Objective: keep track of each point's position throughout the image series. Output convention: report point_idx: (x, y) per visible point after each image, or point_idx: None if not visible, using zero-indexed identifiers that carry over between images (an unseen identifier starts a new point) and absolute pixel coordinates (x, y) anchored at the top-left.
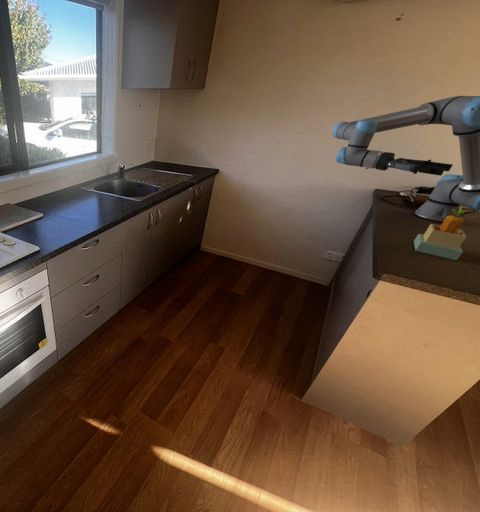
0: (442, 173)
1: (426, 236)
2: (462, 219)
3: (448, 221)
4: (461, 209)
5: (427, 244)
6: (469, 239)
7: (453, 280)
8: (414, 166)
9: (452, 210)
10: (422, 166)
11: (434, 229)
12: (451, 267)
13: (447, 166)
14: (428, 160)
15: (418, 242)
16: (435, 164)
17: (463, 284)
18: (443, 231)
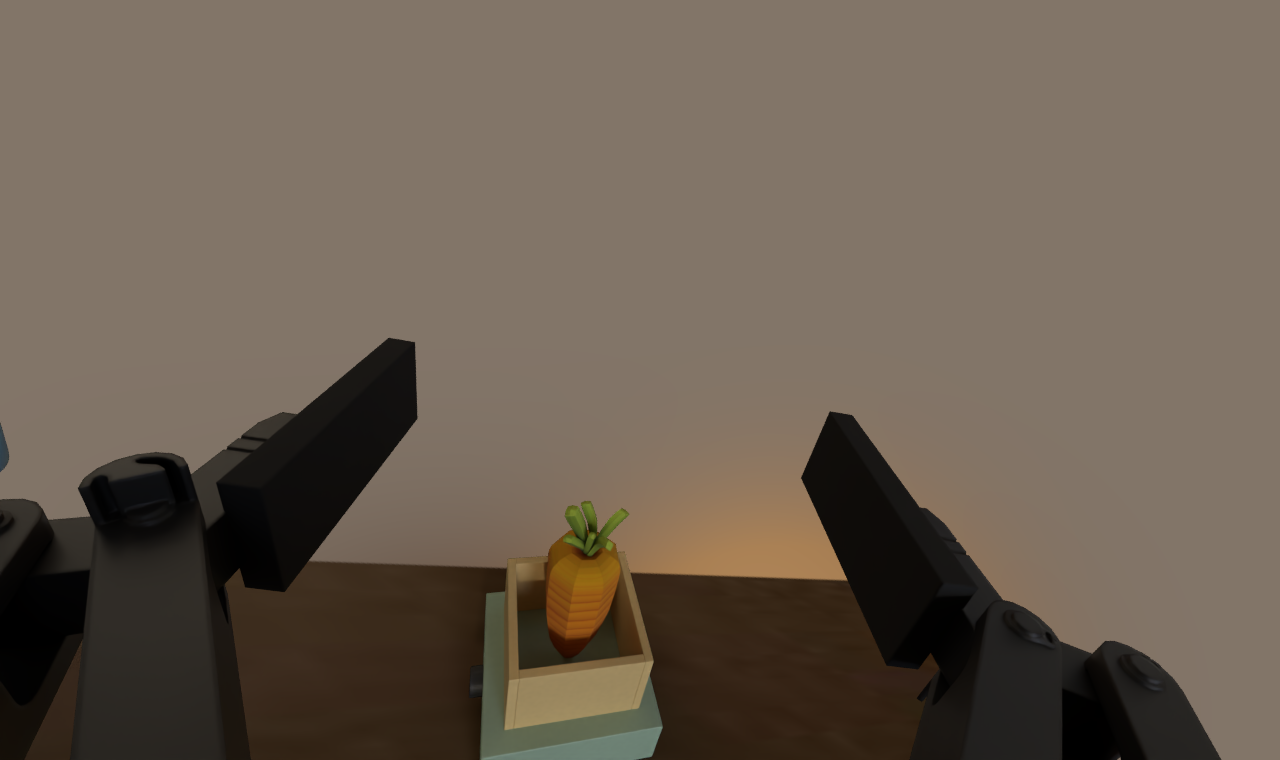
0: (815, 460)
1: (594, 704)
2: (597, 532)
3: (611, 586)
4: (581, 513)
5: (654, 697)
6: None
7: (836, 617)
8: (1161, 687)
9: (611, 548)
10: (956, 585)
11: (631, 656)
12: (719, 623)
13: (398, 386)
14: (102, 502)
15: (615, 744)
16: (330, 457)
17: (834, 597)
18: (602, 622)
